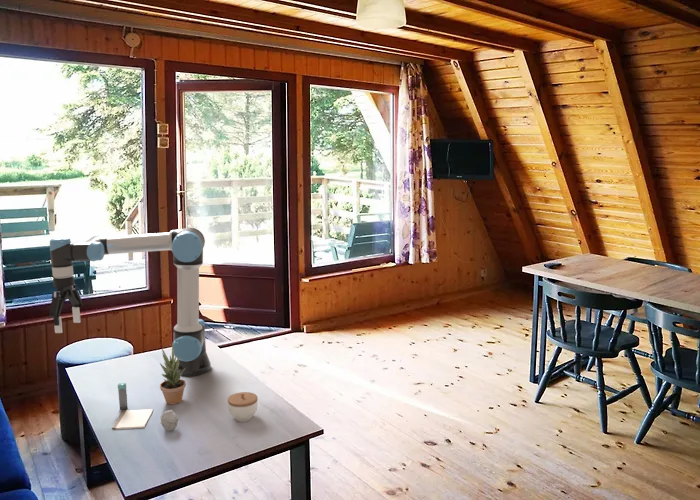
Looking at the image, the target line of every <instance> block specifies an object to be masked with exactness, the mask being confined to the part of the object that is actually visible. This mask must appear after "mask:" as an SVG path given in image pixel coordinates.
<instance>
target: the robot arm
mask: <svg viewBox="0 0 700 500" xmlns="http://www.w3.org/2000/svg"><path fill="white" fill-rule="evenodd" d="M205 243H206V239H205V236H204V234H203V232H201V231H200V230H199V229H197V228H194V227H185V228H179V229H172V230H170V231H169V232H157V233H156V232H154V233H143V234H142V233H139V234H125V235H112V236H101V235H97V236H96V235H95V236H92V237H90V238H89V239H88V240H86V241H83V242H72V241H71V239H70V237H65V236H63V237H54V238H51V239H50V240H49V253H50V254H49V255H50V262H51V271H52V277H53V278H52V283H53V287H54V288H56V291H52V292H51V302H50V308H49V313H48V314H49V315H48V317H49V318H53V325H54V328H53V329H54V333H55V334H62V333H63V323H62V322H63V321H62V316H60V315H61V313H62V310H63V306H64V304H65V302H66V301H67V300H68V301H69V302H70V303H71V305H72V308H71V311H72V321H73V323H74V324H76V323H77V324H80V323H81V322H82V321H81V320H82V319H81V312H80V311H81V310H80V307H82V306H83V299H82V297H81V296H80V293H79V290H78V288H77V286H78V285H77V284H75V276H74V266H73V265H74V264H73V262H95V261H102V260H103V259H104V257H105V255H116V254H117V255H119V254H129V253H130V254H133V253H134V254H135V253H146V252H147V253H148V252H160V251H161V252H162V251H171V252H172V255H173V256H172V257H173V260H172V261H173V265H174V266H175V268H176V269H177V271H176V274H177V275H176V276H177V278H176V279H177V282H176V283H177V290H176V291H177V295H176V296H177V309H176V310H177V311H176V312H177V320H176V322H177V323H176V324H175V325H174V327H173V348H174V357H175V355H176V359H178V357H179V361H178V362H179V367H178V370H177V372H178V371H179V370H180V372H182V371H183V370H184V369H185V368H186V369H185V370H184V371H183V373H182V375H181V376H183V377H184V376H188V377H192V376H193V377H194V376H199V375H204V374H206V373H208V372H209V371H210V370H211V367H212V366H211V365H212V364H211V361H210V358H209V356H208V354H207V353H208V352H207V349H206V347H207V346H206V328H205V327H206V325H205V320H203V319H201V318H200V315H199V314H200V309H199V308H200V300H199V299H200V267H201V266H202V265H203V264H204V263H203V262H204V248H205ZM180 372H179V373H180Z"/></svg>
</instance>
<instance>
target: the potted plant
mask: <svg viewBox="0 0 700 500" xmlns="http://www.w3.org/2000/svg"><path fill="white" fill-rule="evenodd" d="M173 342H174V340H173V341H172V342H171V355H169V358H168V356H167V354H166V352H165V350H164V349H163V348H161V351H162V353H161V354H162V358H163V360H164V362H163V363H164V365H163V364H162V363H159V365H160V367H161V369H162V370H163V372H164V373H162V374H161V376H162V377H164V378H165V379H164V380H163V381H162V382H161V383H160V384H159V387H160V388H159V389H160V391H161V392H162V395H163V397H164V400H165V403H166V404H169V405H175V404H179V403H181V402H182V401H183V396H184V391H185V389H186V381H185V380H184V379H181V377H182V376H183V375H182V373H183V371H184V370H185V369H186V368H185V369H184V370H183V371H182V372H180V370H179V371H178V372H177V370H178V367H179V362H178V361H179V357H178V358H176V355H175V356H174V348H173ZM179 372H180V373H179Z"/></svg>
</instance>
